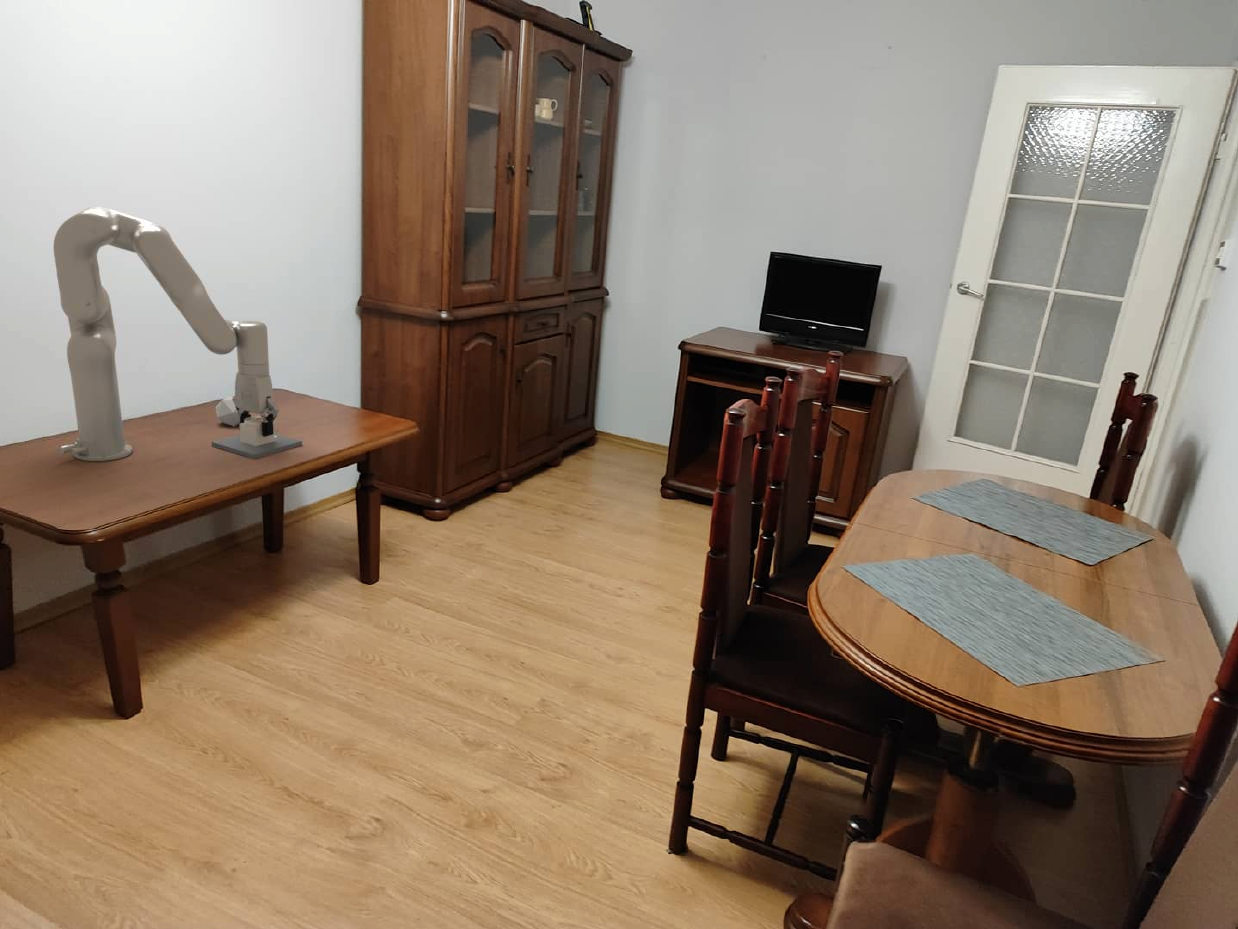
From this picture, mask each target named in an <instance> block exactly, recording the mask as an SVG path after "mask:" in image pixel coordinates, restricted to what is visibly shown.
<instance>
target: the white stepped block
mask: <svg viewBox="0 0 1238 929" xmlns="http://www.w3.org/2000/svg"><path fill="white" fill-rule="evenodd" d="M262 422H264V421H263V419H262V417H261V416H251V417H248V418H246V419H244V423H241V424H240V423H239V435H240V439H241V442H244V443H247V444H250V445H254V446H259V445H263V444H267V443H270V442H274V434H273V435H270V436H266V437H264V436H262ZM273 432H274V433H275V425H274V423H273Z"/></svg>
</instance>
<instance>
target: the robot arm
mask: <svg viewBox="0 0 1238 929" xmlns="http://www.w3.org/2000/svg"><path fill="white" fill-rule="evenodd" d="M107 245H108V246H111V247H114V248H117V249H121V250H124V251H127V252H131V253H135V254H137V256H138V258H139V259H140V260H141V261H142V262H143V264H144V266H145V267H146V268H147V270H149V272H150V273H151V274H152V276H153V277H154V278H155V280H156V281H157V282H158V283H159V286H160V287H161V288H162V289H163V291H164V292H165V294H166V295H167V296H168V298H169V299H170V301H171V302H172V303H173V305H174V306H175V307H176V308H177V310H178V311H179V313H180V314H181V315H182V316H183V318H184V319H185V320H186V322H187V324H188V325H189V326H190V328H191V329H192V331H193V332H194V333H195V335H196V336H197V337H198V338H199V340H200V341H201V342H202V343H203V345H204V346H205V347H206V349H207V350H209V351H210V352H211V353H213V354H215V355H220V356H222V355H228V354H230V353H231V352H233V351H234V350H235V348H236V357H237V371H238V372H236V374H235V382H234V396H232V397H233V398H232V400H233V402H234V404H235V407H236V409H237V410H238V415H239V416H240V423H239V425H240V424H241V423H244V419H246V418H248V417H252V414H253V413H254V414H256V415H257V414H259V416H260V417H262V419H263V421H264V422H262V436H264V437H266V436H270V435H273V434H274V433H275V431H274V432H273V424H274V421H275V419H276V418H277V416H278V414H279V412H280V408H279V407H278V406H277V404H276V403H275V401H274V389H273V383H272V379H271V375H270V364H269V363H270V362H269V359H270V358H269V343H268V342H269V340H268V327H267V325H266V324H265V323H264V322H261V321H257V320H243V321H238V320H237V321H236V320H229V319H224V317H223V316H222V314H221V313H220V311H219V310H218V309H217V307H216V306H215V304H214V302H213V301H212V298H210V295H209V294H208V292H207V289H206V287H205V285H204V283H203V281H202V280H201V278H200V277H199V275H198V274H197V273H196V271H195V270H194V269H193V267H192V266H191V265H190V263H189V262H188V260H187V259H186V257H185V256H184V255H183V253H182V252H181V251H180V249H179V248H178V246H177V245H176V244H175V242H174V241H173V239H172V236H171V235H170V232H168V230H167V229H165V227H163V226H162V225H160V224H157V223H154V222H151V221H147V220H144V219H141V218H138V217H134V216H132V215H129V214H126V213H122V212H119V211H116V210H114V209H113V210H112V209H110V208H108V207H104V206H103V207H102V206H90V207H88V208H86V209H83V210H82V211H80V212H77V213H76V214H74V215H72V216H71V217H69V218H68V219H67V220H65V221H63V223H61V225H60V226H59V227H58V229H57V231H56V233H55V235H54V240H53V256H54V257H53V258H54V262H55V267H56V268H55V269H56V277H57V283H58V284H57V285H58V288H59V298H60V307H61V309H62V312H63V313H64V314H65V316H66V317H67V319H68V326H69V331H70V338H69V339H68V342H67V347H66V357H67V358H66V359H67V363H68V368H69V373H70V377H71V378H70V379H71V387H72V393H73V394H72V395H73V400H74V408H75V415H76V422H77V423H76V424H77V430H78V437H76V438H74V442H72V443H71V444H66V445H61V446H59V447H58V451H59V453H60V454H61V455H64V454H68V453H71V454H72V455H73V457H74V458H76V459H78V460H81V461H88V462H106V461H114V460H118V459H122V458H125V457H129V456H130V455H131V454H132V453H133V447H132V446H131V444H128V443H126V442H125V437H124V428H123V426H124V425H123V420H122V419H123V417H122V409H121V399H120V398H121V397H120V392H119V390H120V389H119V381H118V374H117V365H116V349H117V335H116V329H115V324H114V317H113V311H112V306H111V305H112V304H111V299H110V296H109V293H108V291H107V290H106V289H105V287H104V286H103V285H102V281H101V275H100V266H99V260H98V252H99V250H100V249H101V248H102V247H104V246H107ZM250 413H252V414H250Z"/></svg>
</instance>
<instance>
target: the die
mask: <svg viewBox="0 0 1238 929" xmlns="http://www.w3.org/2000/svg"><path fill="white" fill-rule="evenodd" d="M233 397H234V396H232V395H229V396H228V397H225V398H223V399H221V401H219V403H217V405H216V406H215V411H216V417H217V419H218V420H219V421H220V422H221V423H222V424H224V425H228V426H230V427H236V426H238V425H240V416H239V415H238V410H237V409H236V407H235V404H234V402H233V400H232V398H233Z"/></svg>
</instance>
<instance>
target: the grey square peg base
mask: <svg viewBox="0 0 1238 929" xmlns="http://www.w3.org/2000/svg"><path fill="white" fill-rule="evenodd" d="M300 446H303V441H302V440H299V439H295V438H293V437H288V436H285V435H282V434H280V433H279V434H278V433H275V432H274V442H270V443H267V444H263V445H259V446H254V445H250V444H247V443H244V442H241V439H240V434H237V435H233V436H229V437H226V438H221V439H217V440H214V441H211V447H213V448H217V449H221V450H222V451H227V452H230V453H232V454H237V455H239V456H243V457H247V458H249V459H253V460H255V459H258V458H263V457H266V456H269V455H272V454H276V453H281V452H283V451H287V450H290V449H294V448H298V447H300Z"/></svg>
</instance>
